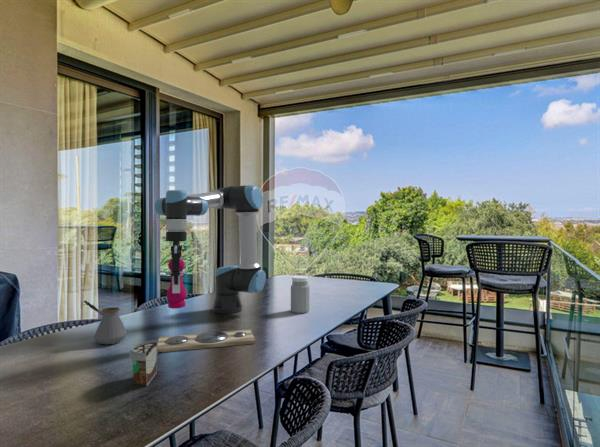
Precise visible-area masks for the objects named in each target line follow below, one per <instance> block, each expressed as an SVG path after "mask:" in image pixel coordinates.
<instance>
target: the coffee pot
mask: <svg viewBox="0 0 600 447" xmlns="http://www.w3.org/2000/svg"><path fill="white" fill-rule="evenodd" d="M83 303H85V304H83ZM81 304H83V306H85V305H86V306H89V308H90V309H92V310H94V311H95V312H97V313H98V314H100V315H101V316H102V318H101V320H100V323H99V325H98V326H97V329H96V332H95V333H94V335H93V338H94V340H95V341H96V342H97V343H99V344H100V343H101V344H112V345H116V344H115V343H117V344H118V342H119V343H121V342H122V341H123V340H124V339H125V338H126V336H127V334H128V332H127V330H126V327H125V325H124V323H123V322H122V320H121V318H120V315H119V310H121V309H120V307H118V306H117V307H115V306H114V307H106V308H103V309H101V310H100V309H98V308H97V307H96V306H95V305H94V304H92V303H90V301H87V300H84V301H82V302H81ZM121 340H122V341H121ZM120 341H121V342H120ZM101 344H100V345H101Z"/></svg>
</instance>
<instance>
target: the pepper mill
mask: <svg viewBox="0 0 600 447" xmlns="http://www.w3.org/2000/svg"><path fill="white" fill-rule="evenodd" d="M167 266H168V270H170V271H169V275H170V274H172V259H171V260H170V261H169V262H168V264H167ZM185 267H186V264H185V261H184V260H183V259H182V258H180V293H172V276H170V284H169V287H168V290H167V292H166V299H167V300H168V301H169V302H168V303H167V308H169V309H182V308H185V307H186V301H185V299H187V296H188V295H187V290H186V288H185V286H184V282H183V276H184V269H185ZM175 272H176V271H175Z"/></svg>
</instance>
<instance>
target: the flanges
mask: <svg viewBox="0 0 600 447" xmlns="http://www.w3.org/2000/svg"><path fill="white" fill-rule="evenodd" d="M201 333H202V332H201ZM198 334H199V333H198ZM244 336H246V333H245V332H237V333H235V337H244ZM227 337H228V335H227V334H226V333H224V332H222V331H207V332H206V331H205V332H203V333H202V334H199V335H198V336H197V337H196V340H197V341H198V342H202V343H215V342H220V341H223V340H225V339H227Z"/></svg>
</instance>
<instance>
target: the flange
mask: <svg viewBox="0 0 600 447" xmlns="http://www.w3.org/2000/svg"><path fill="white" fill-rule="evenodd" d="M173 336H174V337H170V338H168V339H167V340H166V343H167V344H182V343H185V342H187V341H188V337H186V336H175V335H173Z"/></svg>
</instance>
